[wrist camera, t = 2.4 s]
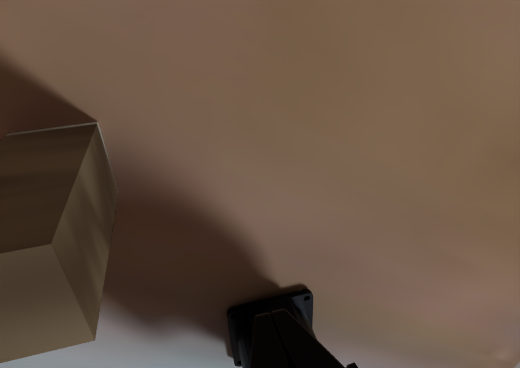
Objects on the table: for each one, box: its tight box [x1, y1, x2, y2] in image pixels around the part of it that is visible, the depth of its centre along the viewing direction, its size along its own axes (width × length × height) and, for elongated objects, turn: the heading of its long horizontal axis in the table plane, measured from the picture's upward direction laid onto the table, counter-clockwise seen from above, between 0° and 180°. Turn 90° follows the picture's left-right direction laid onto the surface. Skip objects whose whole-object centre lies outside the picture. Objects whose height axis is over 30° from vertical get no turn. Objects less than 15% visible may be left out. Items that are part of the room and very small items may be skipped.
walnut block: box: [0, 122, 119, 363], centre depth 14 cm, size 4×4×10 cm
